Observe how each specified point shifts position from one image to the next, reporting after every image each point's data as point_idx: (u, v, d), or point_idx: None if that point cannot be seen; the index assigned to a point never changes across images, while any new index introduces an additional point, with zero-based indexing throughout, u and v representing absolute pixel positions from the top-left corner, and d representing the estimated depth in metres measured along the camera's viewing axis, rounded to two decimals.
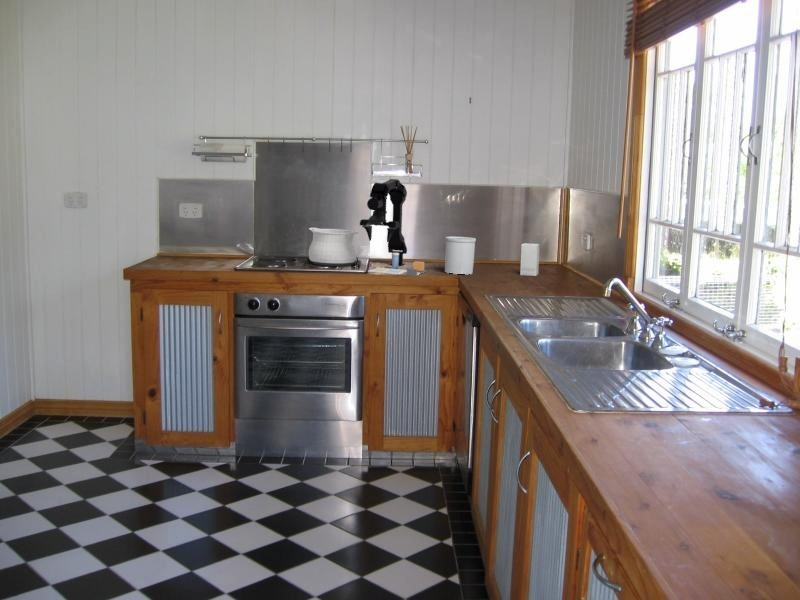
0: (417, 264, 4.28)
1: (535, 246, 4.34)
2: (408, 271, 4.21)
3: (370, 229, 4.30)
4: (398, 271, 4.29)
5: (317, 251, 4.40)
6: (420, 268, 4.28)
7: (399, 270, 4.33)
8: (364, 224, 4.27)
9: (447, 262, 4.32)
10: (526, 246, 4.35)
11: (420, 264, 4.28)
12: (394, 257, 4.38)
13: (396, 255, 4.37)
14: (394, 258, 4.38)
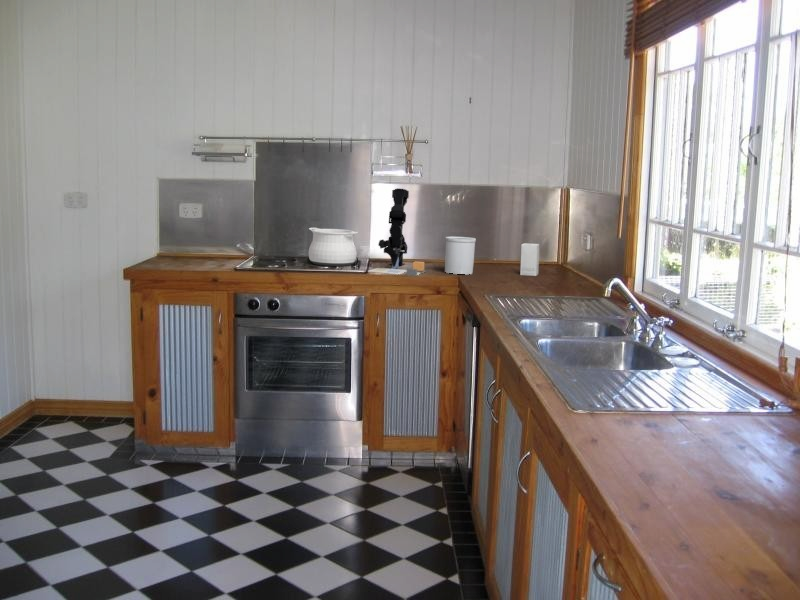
0: (417, 264, 4.28)
1: (535, 246, 4.34)
2: (408, 271, 4.21)
3: None
4: (398, 271, 4.29)
5: (317, 251, 4.40)
6: (420, 268, 4.28)
7: (399, 270, 4.33)
8: None
9: (447, 262, 4.32)
10: (526, 246, 4.35)
11: (420, 264, 4.28)
12: None
13: None
14: None
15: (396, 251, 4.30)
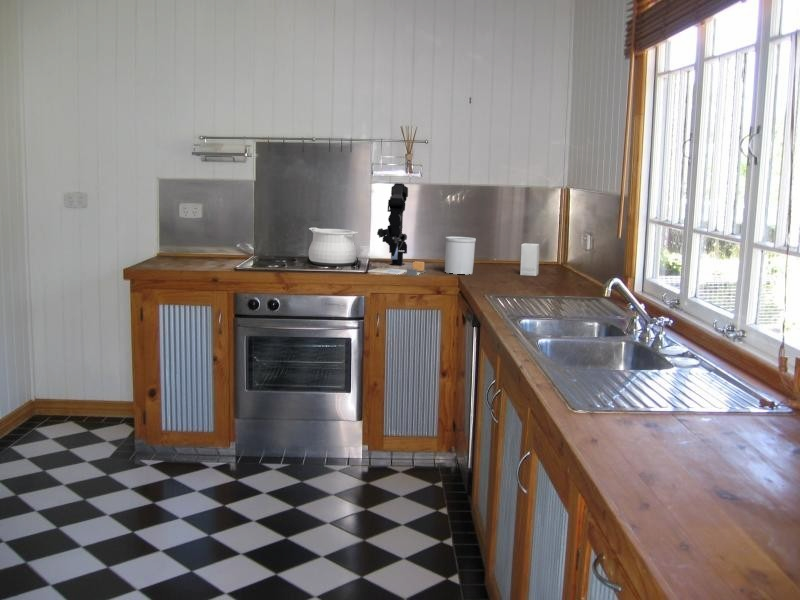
0: (417, 264, 4.28)
1: (535, 246, 4.34)
2: (408, 271, 4.21)
3: None
4: (398, 271, 4.29)
5: (317, 251, 4.40)
6: (420, 268, 4.28)
7: (399, 270, 4.33)
8: None
9: (447, 262, 4.32)
10: (526, 246, 4.35)
11: (420, 264, 4.28)
12: None
13: None
14: None
15: (395, 240, 4.20)
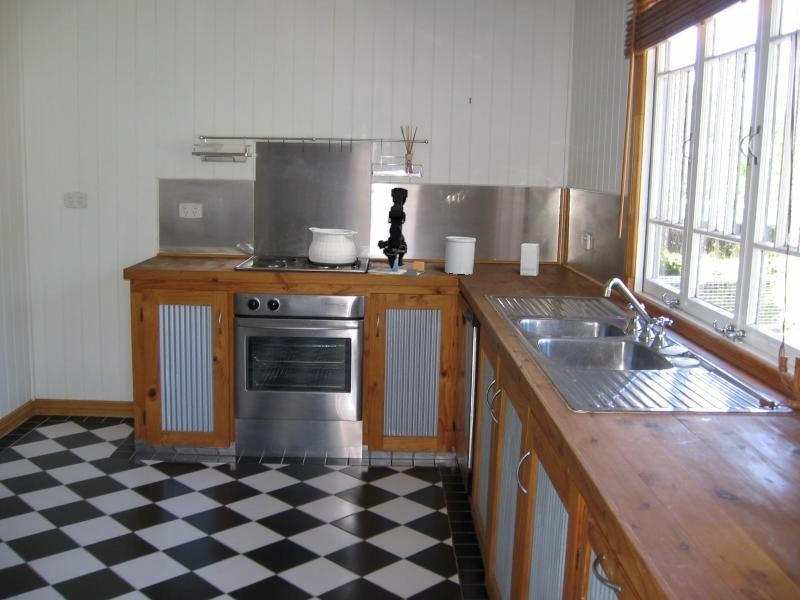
0: (417, 264, 4.28)
1: (535, 246, 4.34)
2: (408, 271, 4.21)
3: (399, 255, 4.32)
4: (398, 271, 4.29)
5: (317, 251, 4.40)
6: (420, 268, 4.28)
7: (399, 270, 4.33)
8: None
9: (447, 262, 4.32)
10: (526, 246, 4.35)
11: (420, 264, 4.28)
12: None
13: None
14: None
15: (395, 252, 4.19)
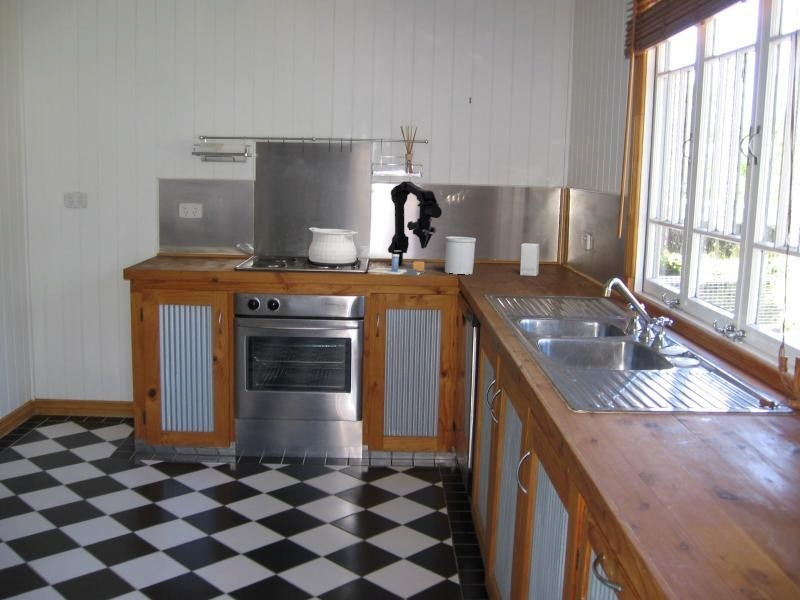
0: (417, 264, 4.28)
1: (535, 246, 4.34)
2: (408, 271, 4.21)
3: None
4: (398, 271, 4.29)
5: (317, 251, 4.40)
6: (420, 268, 4.28)
7: (399, 270, 4.33)
8: None
9: (447, 262, 4.32)
10: (526, 246, 4.35)
11: (420, 264, 4.28)
12: (394, 259, 4.26)
13: (396, 257, 4.26)
14: (394, 260, 4.27)
15: (425, 232, 4.25)
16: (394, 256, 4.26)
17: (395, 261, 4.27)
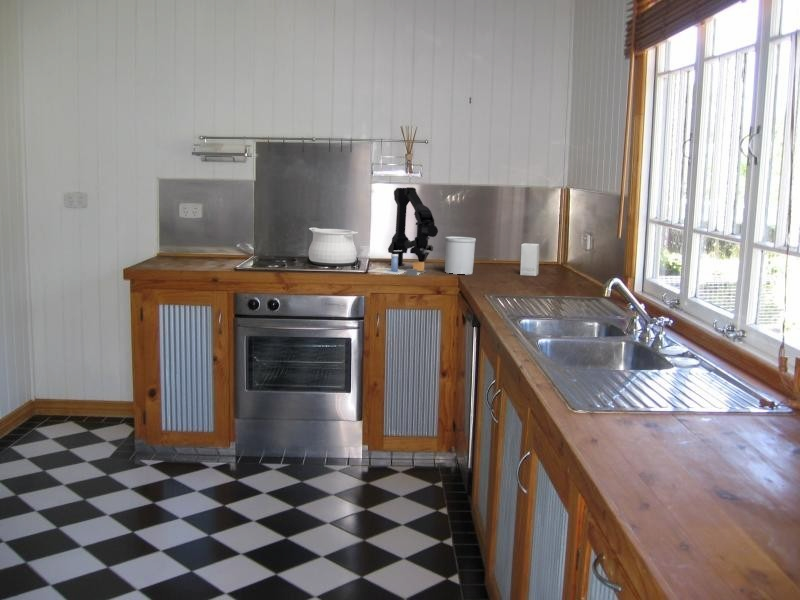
0: (417, 264, 4.28)
1: (535, 246, 4.34)
2: (408, 271, 4.21)
3: None
4: (398, 271, 4.29)
5: (317, 251, 4.40)
6: (420, 268, 4.28)
7: (399, 270, 4.33)
8: None
9: (447, 262, 4.32)
10: (526, 246, 4.35)
11: (420, 264, 4.27)
12: (394, 258, 4.27)
13: (396, 256, 4.27)
14: (394, 259, 4.27)
15: (423, 251, 4.24)
16: (393, 256, 4.27)
17: (395, 261, 4.27)
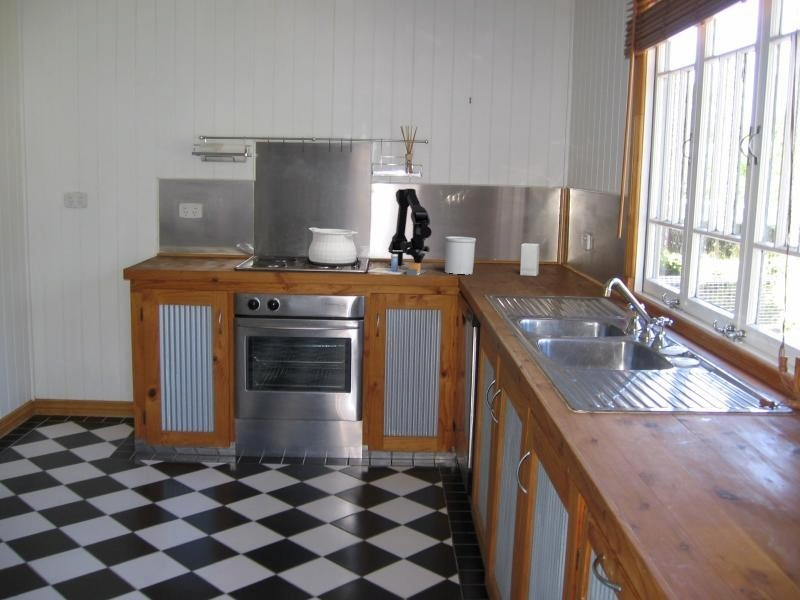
0: (413, 265, 4.22)
1: (535, 246, 4.34)
2: (408, 271, 4.21)
3: None
4: (398, 271, 4.29)
5: (317, 251, 4.40)
6: None
7: (399, 270, 4.33)
8: None
9: (447, 262, 4.32)
10: (526, 246, 4.35)
11: (416, 265, 4.22)
12: (393, 259, 4.26)
13: (395, 256, 4.26)
14: (393, 260, 4.26)
15: (419, 253, 4.18)
16: (393, 256, 4.26)
17: (395, 261, 4.27)
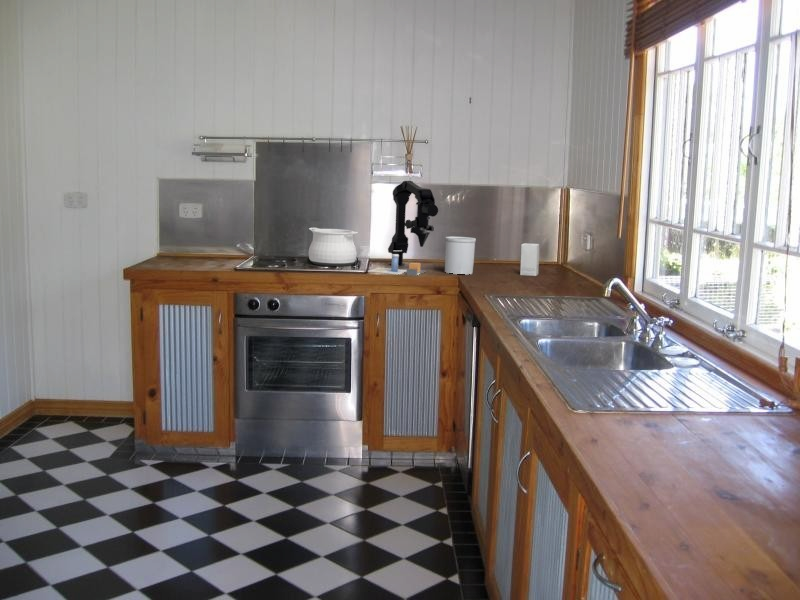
0: (413, 265, 4.23)
1: (535, 246, 4.34)
2: (408, 271, 4.21)
3: None
4: (398, 271, 4.29)
5: (317, 251, 4.40)
6: None
7: (399, 270, 4.33)
8: None
9: (447, 262, 4.32)
10: (526, 246, 4.35)
11: (416, 265, 4.22)
12: (394, 258, 4.27)
13: (396, 256, 4.27)
14: (394, 259, 4.27)
15: (423, 231, 4.22)
16: (394, 256, 4.27)
17: (396, 261, 4.27)
